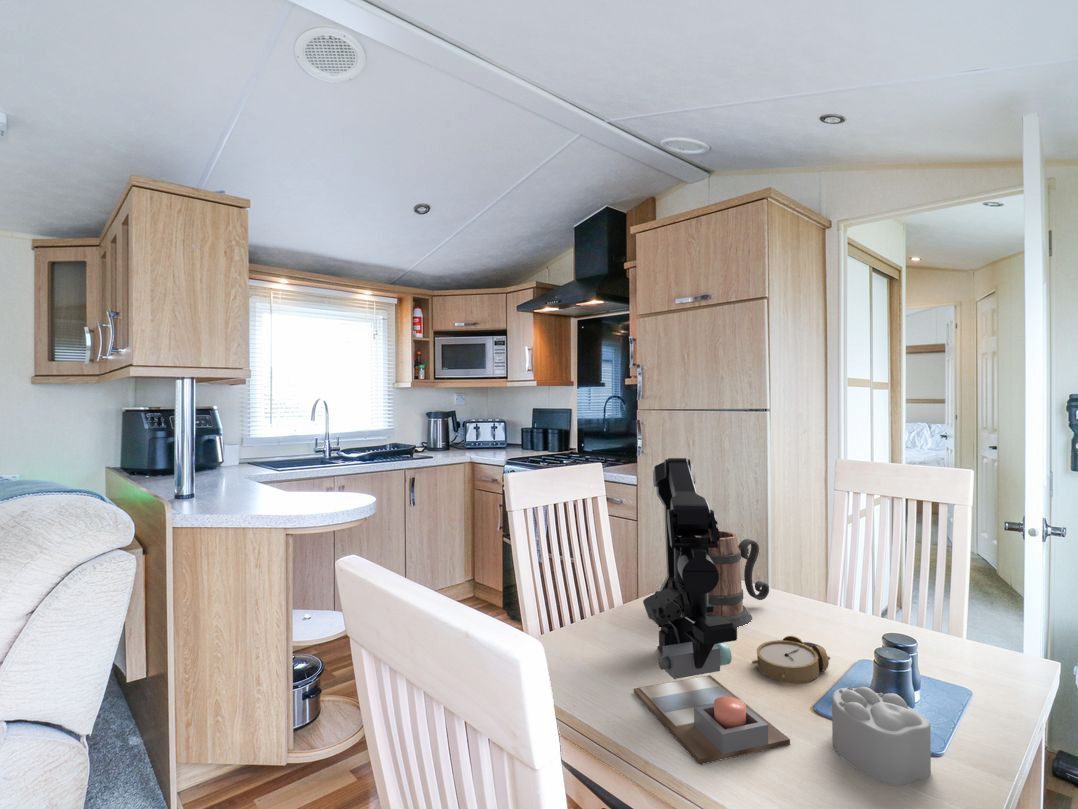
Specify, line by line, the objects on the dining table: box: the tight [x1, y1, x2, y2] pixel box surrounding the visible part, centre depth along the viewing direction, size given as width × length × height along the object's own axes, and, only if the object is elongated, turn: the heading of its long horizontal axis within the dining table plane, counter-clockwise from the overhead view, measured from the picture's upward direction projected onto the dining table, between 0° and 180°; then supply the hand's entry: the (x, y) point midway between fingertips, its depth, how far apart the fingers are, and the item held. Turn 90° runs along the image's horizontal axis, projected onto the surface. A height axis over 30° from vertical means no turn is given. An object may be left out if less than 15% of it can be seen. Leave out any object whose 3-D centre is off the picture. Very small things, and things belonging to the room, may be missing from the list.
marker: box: [657, 642, 733, 680], centre depth 104 cm, size 13×4×4 cm, turn 107°
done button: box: [714, 697, 746, 729], centre depth 93 cm, size 5×5×3 cm
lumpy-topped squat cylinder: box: [831, 686, 932, 787], centre depth 88 cm, size 10×13×9 cm
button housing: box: [694, 703, 768, 754], centre depth 93 cm, size 8×8×3 cm
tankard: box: [697, 530, 770, 628], centre depth 146 cm, size 24×17×20 cm
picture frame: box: [633, 674, 791, 765], centre depth 100 cm, size 16×22×1 cm
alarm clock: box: [751, 635, 831, 684], centre depth 117 cm, size 11×5×15 cm
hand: (692, 662), depth 103 cm, fingers closed on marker, 4 cm apart
